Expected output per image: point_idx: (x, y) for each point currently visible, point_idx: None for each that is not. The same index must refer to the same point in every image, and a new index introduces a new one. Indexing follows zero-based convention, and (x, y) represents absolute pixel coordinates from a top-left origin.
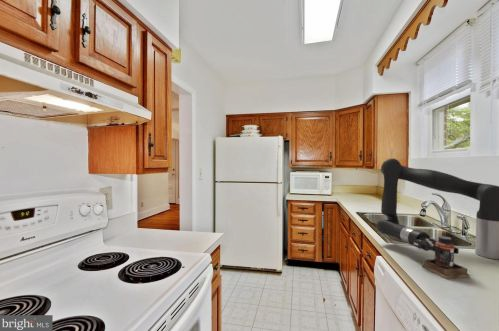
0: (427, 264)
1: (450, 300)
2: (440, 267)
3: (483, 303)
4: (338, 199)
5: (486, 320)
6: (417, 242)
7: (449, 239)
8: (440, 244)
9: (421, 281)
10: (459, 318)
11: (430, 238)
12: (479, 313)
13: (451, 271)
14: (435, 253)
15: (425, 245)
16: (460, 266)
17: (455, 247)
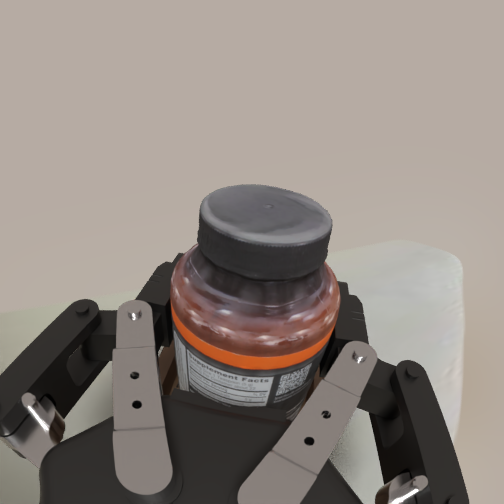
0: None
1: (426, 292)
2: (322, 378)
3: (349, 263)
4: None
5: (402, 245)
6: (452, 467)
7: (279, 190)
8: (334, 278)
9: (446, 380)
10: (448, 262)
11: (171, 473)
12: (397, 255)
13: None
14: (307, 391)
15: (423, 382)
16: (173, 346)
17: (175, 263)
